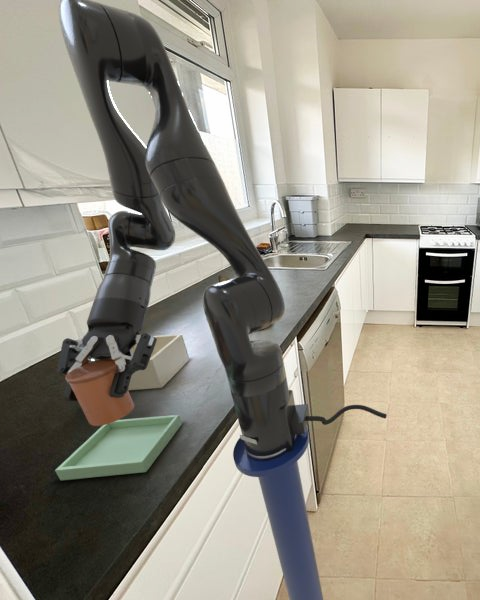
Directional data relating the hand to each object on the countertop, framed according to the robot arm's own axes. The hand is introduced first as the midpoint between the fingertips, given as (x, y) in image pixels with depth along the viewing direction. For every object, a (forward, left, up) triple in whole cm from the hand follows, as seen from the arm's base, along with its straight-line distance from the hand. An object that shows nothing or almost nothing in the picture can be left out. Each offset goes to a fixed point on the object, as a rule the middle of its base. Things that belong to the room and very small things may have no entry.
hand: (94, 398), depth 51 cm
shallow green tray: (0, -2, -13) cm, 13 cm away
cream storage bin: (+12, -27, -13) cm, 32 cm away
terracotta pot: (0, -2, -4) cm, 5 cm away
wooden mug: (-5, -53, -13) cm, 55 cm away
